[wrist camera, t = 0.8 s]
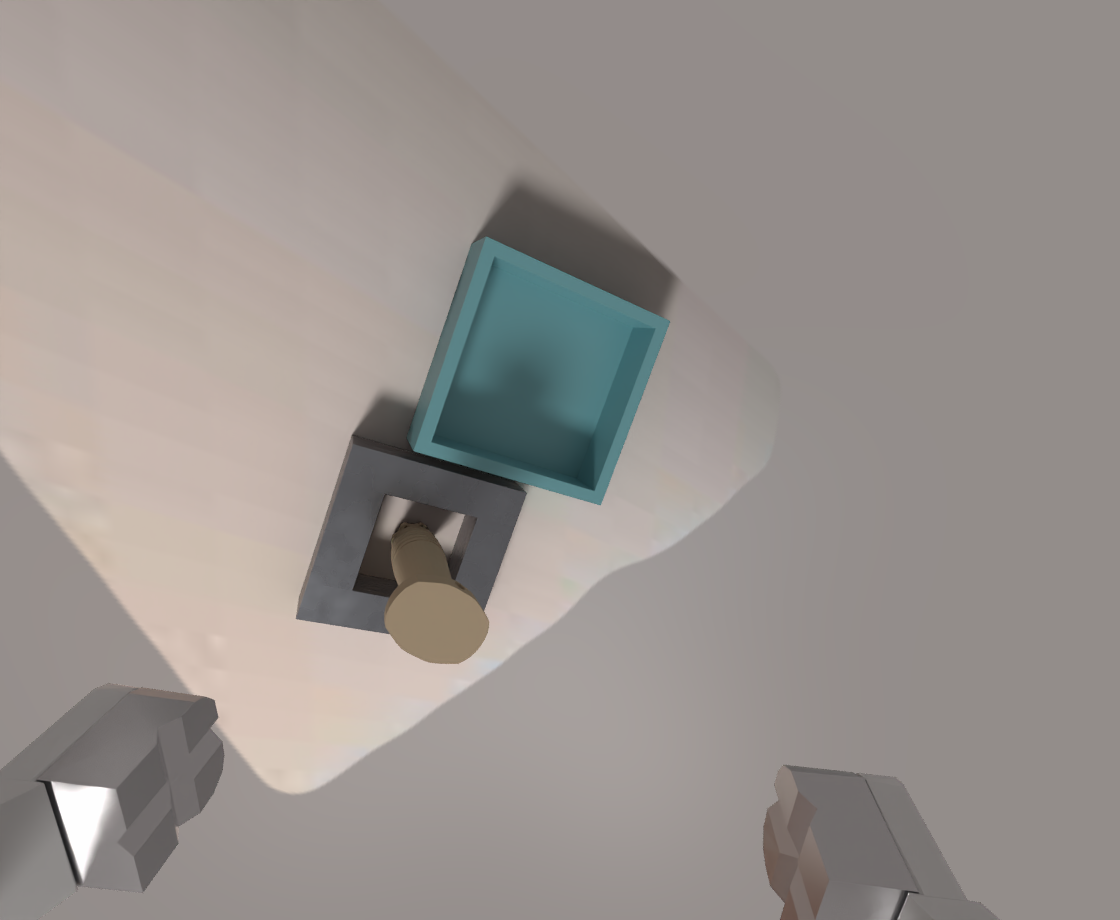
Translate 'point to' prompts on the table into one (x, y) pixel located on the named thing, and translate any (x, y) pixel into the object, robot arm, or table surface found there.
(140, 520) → the table surface
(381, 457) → the socket block
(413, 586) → the handle
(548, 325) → the bin
